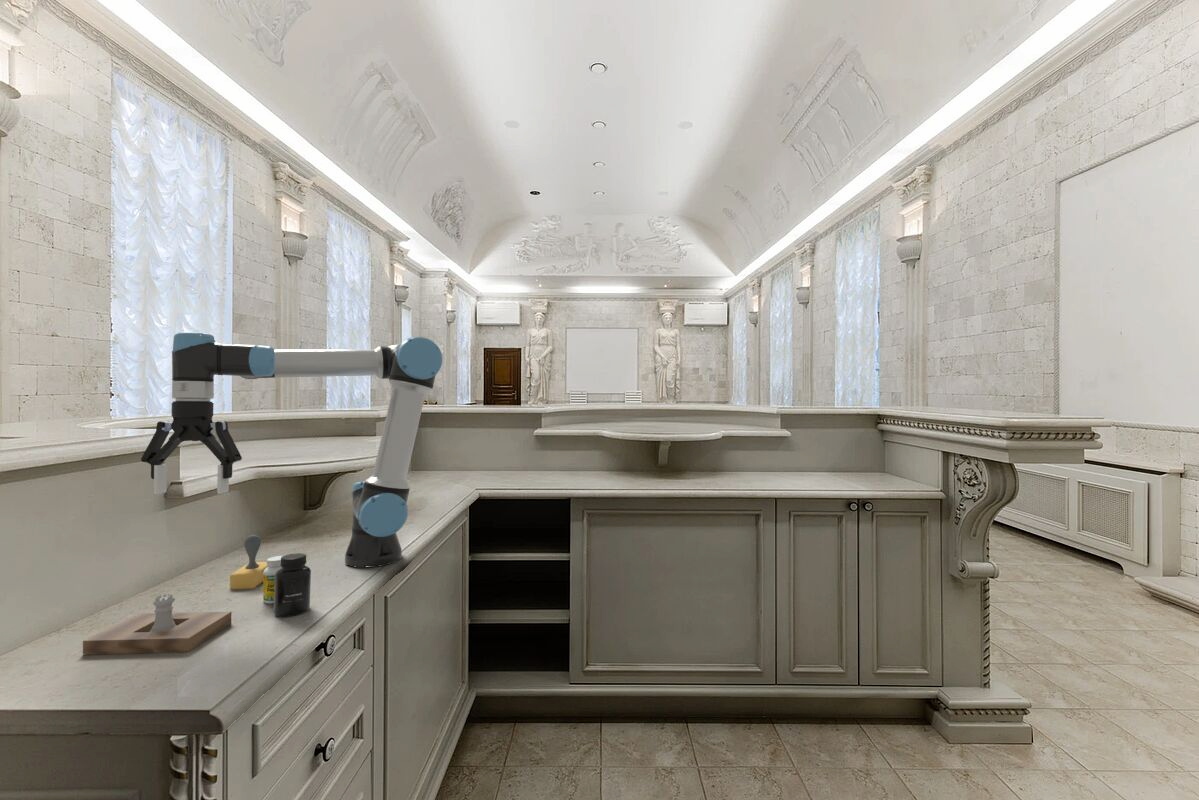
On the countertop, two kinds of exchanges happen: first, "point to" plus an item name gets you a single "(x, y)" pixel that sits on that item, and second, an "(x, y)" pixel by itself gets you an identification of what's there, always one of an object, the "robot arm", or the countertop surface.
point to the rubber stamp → (249, 567)
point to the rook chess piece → (163, 614)
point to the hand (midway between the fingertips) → (191, 493)
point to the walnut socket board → (157, 634)
